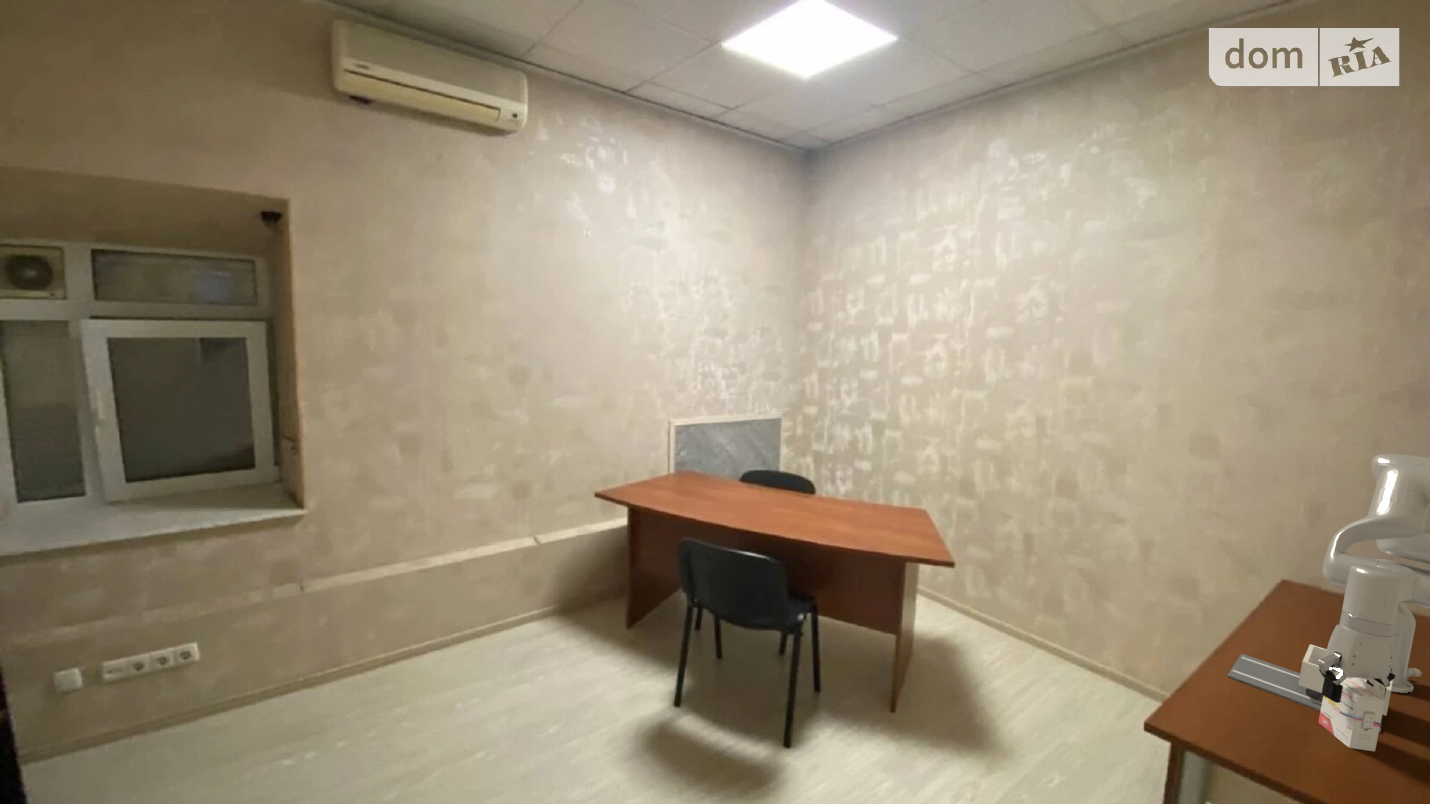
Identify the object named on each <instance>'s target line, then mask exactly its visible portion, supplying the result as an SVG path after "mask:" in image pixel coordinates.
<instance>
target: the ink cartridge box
mask: <svg viewBox="0 0 1430 804" xmlns="http://www.w3.org/2000/svg"><path fill="white" fill-rule="evenodd" d="M1364 679H1368V680H1369V682H1370V683H1372V684H1373V685H1374V687H1372V686H1371V685H1369V684H1368V683H1366V682H1365V681H1363V679H1362V678H1352V679H1350V678H1346V679H1345V680H1344V681H1343V682H1342V683H1341V684H1340V685H1342V686H1343V690H1342V695H1341V701H1340V703H1336V702H1334V701H1332V700H1330V699H1329V698H1327V697H1325V696H1323V700H1322V705H1321V710H1320V711H1319V716H1318V724H1319V725H1320V726H1322V727H1323V728H1324V729H1325V730H1326V731H1328V732H1329V733H1330V734H1331V735H1332V736H1334V737H1335V738H1336V739H1338V740H1339V741H1340V742H1342V744H1344V745H1345V746H1346V747H1347V748H1350V749H1355V750H1363V751H1370V752H1376V748H1377V743H1378V738H1379V734H1380V733H1379V728H1380V723H1381V718H1382V719H1383V717H1382V713H1383V708H1384V703H1385V701H1384V696H1385V687H1384V686H1383V685H1382V684H1380V683H1379V682H1377V681H1376V680H1374V679H1373V678H1364Z"/></svg>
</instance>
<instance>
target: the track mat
mask: <svg viewBox="0 0 1430 804" xmlns="http://www.w3.org/2000/svg"><path fill="white" fill-rule="evenodd" d="M1227 676H1228V677H1227ZM1226 677H1227V678H1229V677H1230V678H1229V679H1231V678H1233V679H1232V680H1234V679H1235V680H1234V681H1238V682H1240V681H1241V682H1240V683H1242V682H1243V684H1245V683H1246V685H1248V686H1250V685H1251V686H1252V687H1253V688H1256V689H1259V690H1262V691H1265V692H1266V693H1267V692H1268V693H1269V692H1270V693H1269V694H1272V695H1276V696H1278V697H1280V698H1283V699H1286V698H1287V700H1288V699H1289V700H1288V701H1291V702H1294V703H1296V702H1298V703H1297V704H1299V705H1303V706H1305V707H1307V708H1311V709H1313V710H1316V711H1319V712H1320V710H1321V705H1322V700H1323V695H1322V693H1320V697H1319V698H1317V699H1313V698H1310V697H1309V696H1308V695H1307V694H1306V689H1307V688H1306V687H1303V686H1300V685H1298V684H1299V678H1300V672H1297V671H1294V670H1291V669H1288V668H1285V667H1282V666H1279V665H1277V664H1274V663H1270V662H1268V661H1266V660H1262V659H1260V658H1256V657H1253V656H1249V655H1247V654H1244V653H1241V654H1240V655H1239V657H1238V659H1236V661H1235V663H1234V664H1233V666H1232V667H1231V669H1230V670H1229V672H1228V674H1227V675H1226ZM1383 716H1384V715H1382V718H1381V723H1380V728H1379V733H1378V734H1381V732H1382V731H1381V730H1382V725H1383V723H1382V722H1383Z"/></svg>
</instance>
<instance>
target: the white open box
mask: <svg viewBox="0 0 1430 804" xmlns="http://www.w3.org/2000/svg"><path fill="white" fill-rule="evenodd" d="M1326 651H1327V648H1323V647H1320V646H1317V645H1314V644H1311V643H1310V644H1309V645H1308V648H1307V650H1306V652H1305V655H1304V656H1303V659H1302V662H1301V669H1300V671H1299V673H1300V678H1299V684H1298V685H1300V686H1303V687H1306V688H1307V689H1306V694H1307V695H1308V696H1309V697H1310V698H1313V699H1317V698H1319V697H1320V693H1322V689H1323V683H1324V678H1323V677H1322V674H1321V673H1320V671H1319V669H1320V668H1319V666H1318V663H1317V661H1318V660H1319V659H1322V658H1324V657H1325V655H1326ZM1338 669H1340V670H1342V671H1344V670H1343V669H1341V668H1338ZM1334 675H1335V676H1336V677H1337V676H1338V675H1339V673H1337V672H1335V673H1334ZM1347 678H1350V679H1352V677H1347ZM1362 679H1363V681H1365V682H1367V679H1364V678H1362ZM1392 681H1393V680H1392ZM1392 681H1390V686H1389V687H1386V688H1387V689H1386V694H1385V699H1384V701H1385V703H1384V708H1383V713H1382V715H1383V716H1386V717H1387V714H1388V708H1389V705H1390V704H1389V703H1390V699H1391V693H1392V691H1391V689H1392Z"/></svg>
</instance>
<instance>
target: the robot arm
mask: <svg viewBox="0 0 1430 804" xmlns="http://www.w3.org/2000/svg"><path fill="white" fill-rule="evenodd" d="M1370 472H1371V474H1372V477H1373V479H1374V481H1375V484H1376V485H1375V488H1374V492H1373V495H1372V499H1371V502H1370V506H1369V508H1368V509H1369V510H1368V513H1367V515H1366V517H1365V516H1364V517H1363V518H1360V519H1358V520H1356V521H1355V520H1354V521H1352V522H1351V523H1348V524H1346V525H1345V526H1344V527H1342V528H1340V529H1339V530H1338V531H1337V532H1335V534H1334V535H1332V538H1331V539H1330V541H1329V544H1328V547H1327V550H1326V553H1325V555H1324V559H1323V563H1322V574H1323V576H1324V578H1325V579H1326V580H1327V581H1328V582H1330V583H1332V584H1335V585H1338V586H1340V587H1345V591H1344V592H1345V593H1344V598H1343V603H1342V608H1341V614H1340V617H1339V618H1340V620H1339V624H1336V625H1335V627H1334V629H1333V631H1332V633H1331V636H1330V638H1329V640H1328V644H1327V648H1326V649H1327V651H1326V655H1325V657H1324V658H1322V659H1319V660H1318V661H1317V663H1318V666H1319V668H1320V669H1319V671H1320V673H1321V674H1322V677H1323V678H1324V683H1323V689H1322V695H1323V696H1325V697H1327V698H1329V699H1330V700H1332V701H1334V702H1336V703H1340V701H1341V695H1342V690H1343V686H1342V685H1340V684H1341V683H1342V682H1343V681H1344V680H1345V679H1346V678H1347V677H1352V678H1373V679H1374V680H1376V681H1377V682H1379V683H1380V684H1382V685H1383V686H1384V687H1385V694H1386V689H1387V688H1386V687H1389V686H1390V681H1392V680H1393V681H1392V689H1391V693H1398V692H1399V694H1409V693H1408V692H1410V693H1413V691H1414V685H1413V683H1411V682H1410V680H1408V679H1409V678H1411V677H1421V676H1422V671H1421V670H1420V669H1419V668H1417V667H1416V668H1415V667H1414V668H1413V667H1408V665H1409V662H1410V656H1411V652H1412V646H1413V642H1414V635H1415V630H1416V619H1415V616H1414V614H1413V613H1412V612H1411V610H1410V609H1409V608H1408V607H1407V606H1406V604H1410V605H1415V606H1418V607H1423V608H1426V609H1429V610H1430V568H1427V567H1422V566H1419V565H1415V564H1409V563H1405V562H1403V561H1402V562H1401V561H1396V560H1393V559H1392V560H1391V559H1384V558H1371V557H1365V556H1361V555H1357V554H1352V553H1348V552H1347V551H1348V548H1350V547H1351V546H1353V545H1355V544H1357V543H1362V542H1365V541H1366V542H1367V541H1376V542H1375V543H1376V547H1377V549H1379V551H1381V552H1382V553H1383V554H1384V553H1385V555H1386V554H1387V555H1389V556H1392V557H1396V558H1399V559H1405V560H1408V561H1412V562H1417V563H1421V564H1427V565H1430V457H1427V456H1426V457H1424V456H1418V455H1409V454H1401V453H1400V454H1399V453H1382V454H1381V453H1379V454H1377V455H1375V456H1374V457H1372V459H1371V464H1370ZM1338 668H1341V669H1343V670H1344V671H1342V670H1340V669H1338ZM1335 672H1337V673H1339V675H1338V676H1337V677H1336V676H1335V675H1334V673H1335ZM1366 683H1368V684H1369V685H1371V686H1372V687H1374V685H1373V684H1372V683H1370V682H1369V680H1368V679H1367V682H1366ZM1384 699H1385V696H1384Z"/></svg>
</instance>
